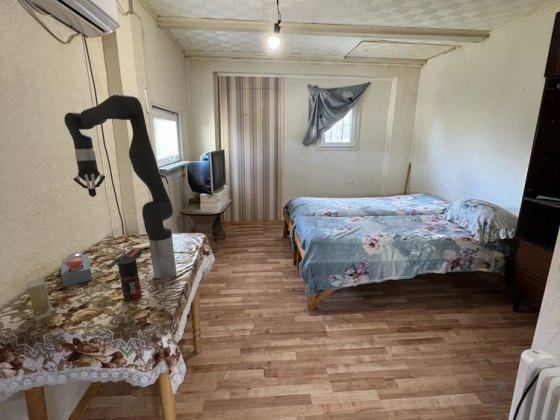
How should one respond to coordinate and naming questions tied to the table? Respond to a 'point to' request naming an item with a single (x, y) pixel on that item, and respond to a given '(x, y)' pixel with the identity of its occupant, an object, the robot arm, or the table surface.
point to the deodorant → (129, 279)
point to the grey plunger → (74, 256)
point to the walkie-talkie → (127, 255)
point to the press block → (76, 272)
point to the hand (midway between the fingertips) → (93, 196)
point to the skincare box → (39, 298)
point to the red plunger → (74, 263)
